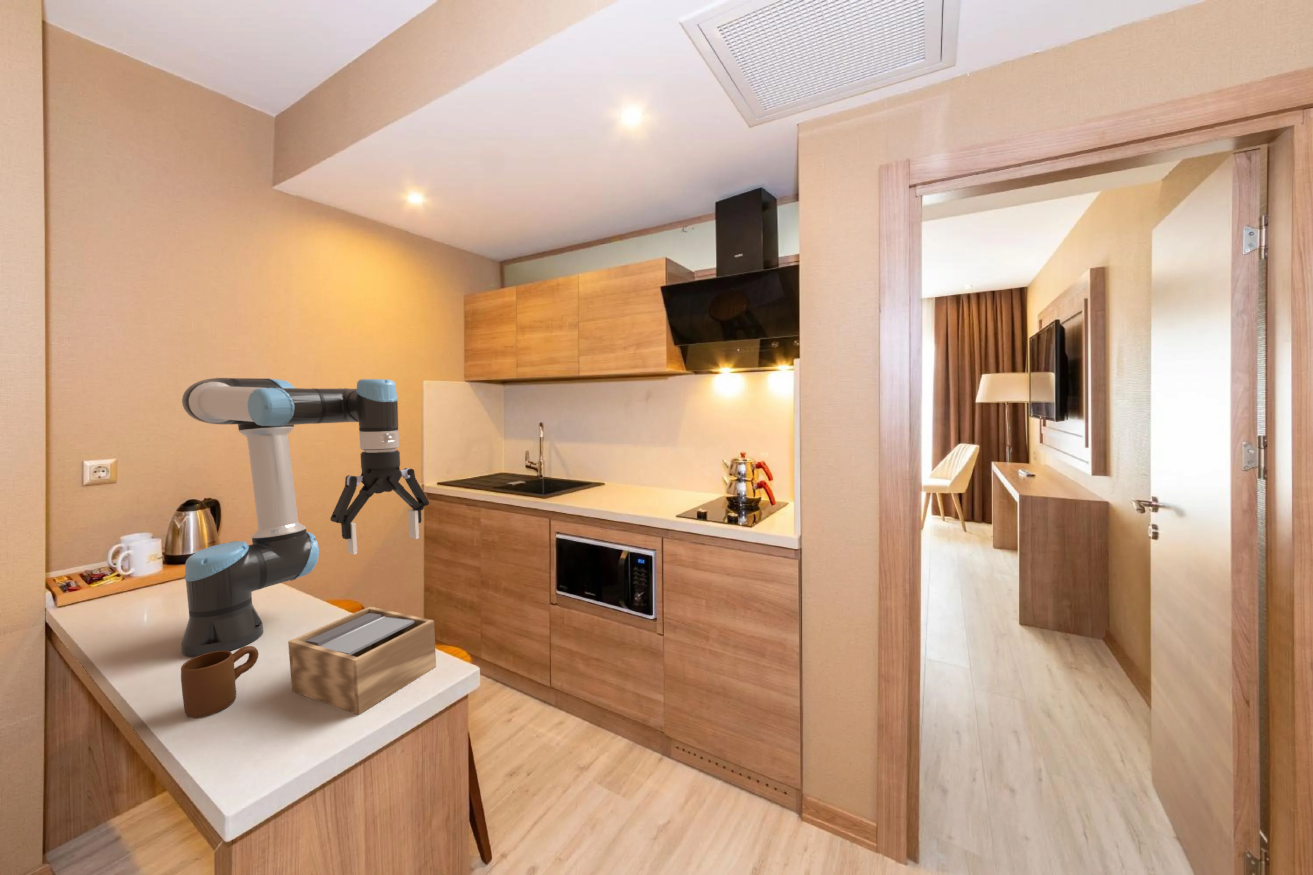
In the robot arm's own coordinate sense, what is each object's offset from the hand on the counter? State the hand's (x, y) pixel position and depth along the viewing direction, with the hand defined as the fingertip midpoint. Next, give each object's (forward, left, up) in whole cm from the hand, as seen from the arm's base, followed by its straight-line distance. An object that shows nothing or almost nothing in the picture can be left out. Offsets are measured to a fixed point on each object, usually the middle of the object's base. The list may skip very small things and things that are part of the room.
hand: (384, 545), depth 111 cm
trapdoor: (+1, -8, -20) cm, 21 cm away
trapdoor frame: (+2, -8, -26) cm, 28 cm away
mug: (-17, -24, -27) cm, 39 cm away
